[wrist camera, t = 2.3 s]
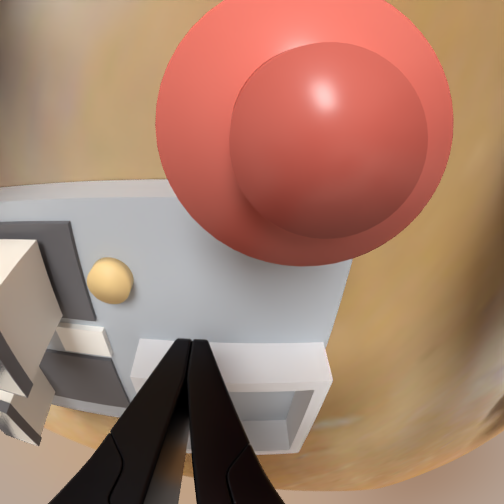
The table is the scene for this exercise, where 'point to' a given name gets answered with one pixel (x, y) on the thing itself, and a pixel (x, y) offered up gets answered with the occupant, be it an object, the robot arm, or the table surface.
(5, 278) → the block
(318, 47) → the pink cylinder with nub
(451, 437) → the table surface
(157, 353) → the panel
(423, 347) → the table surface
